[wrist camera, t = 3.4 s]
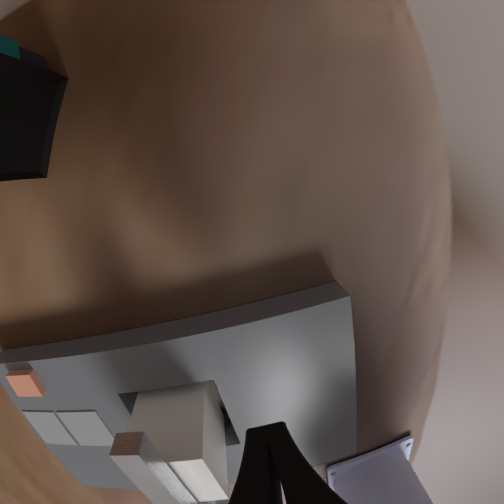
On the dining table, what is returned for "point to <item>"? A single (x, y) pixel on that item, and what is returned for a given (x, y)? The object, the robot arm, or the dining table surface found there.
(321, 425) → the power strip
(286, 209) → the dining table surface
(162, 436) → the plug
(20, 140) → the speaker
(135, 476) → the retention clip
